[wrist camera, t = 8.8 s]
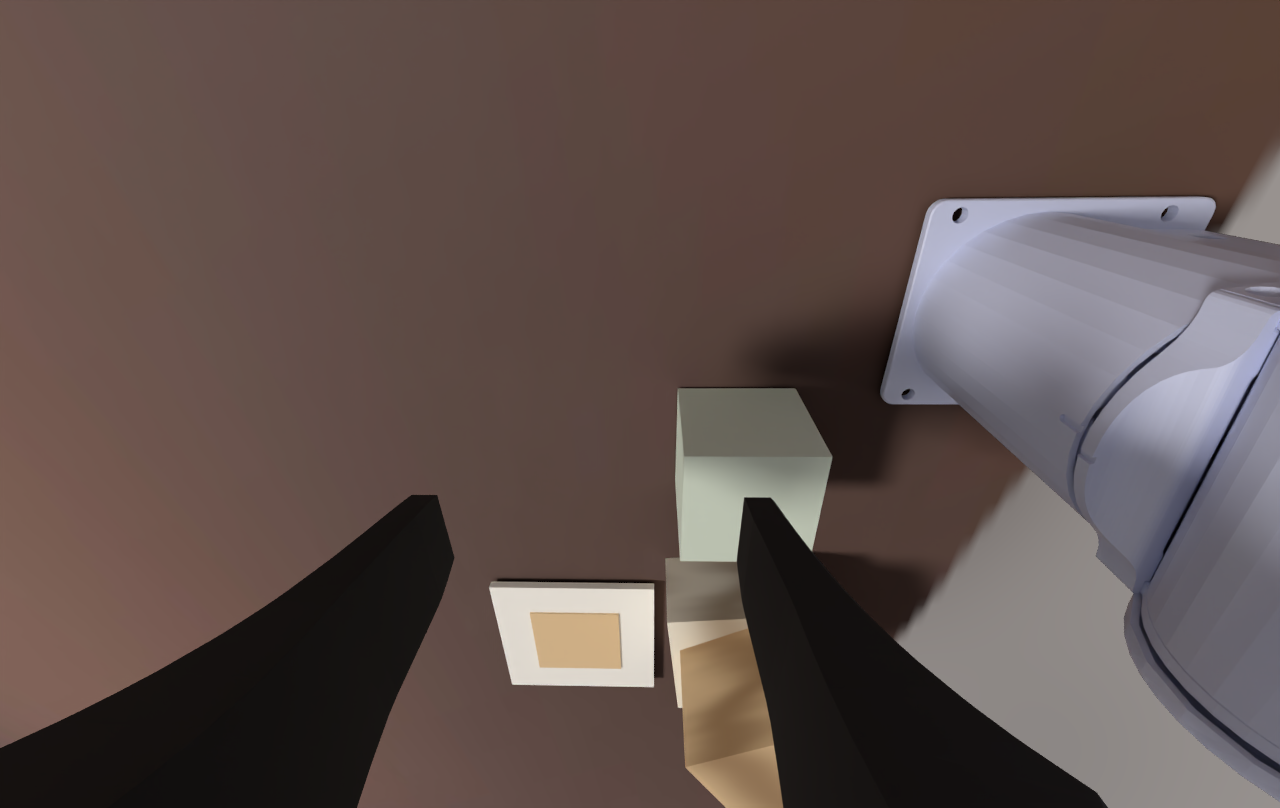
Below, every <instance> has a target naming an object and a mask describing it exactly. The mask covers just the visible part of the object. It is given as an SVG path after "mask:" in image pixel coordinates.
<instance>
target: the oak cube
mask: <svg viewBox="0 0 1280 808" xmlns="http://www.w3.org/2000/svg"><path fill="white" fill-rule="evenodd" d="M680 665H681V686H682V707H683V728H684V749H685V767H686V768H687V769H688V770H689V771H690V772H691V773H692V774H693V775H694V776H695V777H696V778H697V779H698V780H699V781H700V782H701V783H702V784H703V785H704V786H705V787H706V788H707V789H708V790H709V791H710V792H711V793H712V794H713V795H714V796H715V797H716V798H717V799H718V800H719V801H720V802H721V803H722V804H723V805H724V806H725V807H726V808H783V803H782V796H781V789H780V782H779V775H778V768H777V762H776V755H775V749H774V742H773V736H772V729H771V723H770V718H769V713H768V708H767V704H766V699H765V695H764V691H763V687H762V683H761V679H760V675H759V671H758V666H757V662H756V658H755V654H754V650H753V646H752V642H751V638H750V634H749V630H748V628H747V629H744V630H741V631H738V632H735V633H732V634H729V635H726V636H723V637H720V638H717V639H713V640H710V641H707V642H704V643H701V644H698V645H695V646H692V647H689V648H686V649H683V650H680Z"/></svg>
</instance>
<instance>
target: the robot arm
mask: <svg viewBox="0 0 1280 808" xmlns="http://www.w3.org/2000/svg"><path fill="white" fill-rule="evenodd" d="M1167 207H1168V210H1167V213H1166V214H1165V215H1164V216H1163V217H1162V218H1161V214H1162V212H1163V211H1164V210H1165V209H1166V208H1167ZM958 208H961V209H962V214H961V216H960V218H959V219H957V220H956V221H953V220H952V215H953V213H954V211H956V210H957V209H958ZM1215 208H1216V204H1215V201H1214V200H1213V199H1212V198H1208V197H1201V196H1158V197H1057V198H956V199H940V200H938V201H936V202H934V203H933V204H932V205H931V206H930V207H929V208H928V210H927V213H926V216H925V219H924V223H923V227H922V231H921V235H920V239H919V243H918V246H917V250H916V254H915V258H914V262H913V266H912V270H911V274H910V277H909V281H908V285H907V289H906V293H905V297H904V301H903V304H902V308H901V312H900V316H899V320H898V324H897V328H896V331H895V335H894V339H893V343H892V347H891V351H890V355H889V359H888V362H887V366H886V370H885V374H884V378H883V382H882V386H881V389H880V395H881V397H882V399H883V400H884V401H885V402H887V403H888V404H959V405H960V406H961V407H962V408H963V409H964V410H966V411H967V412H968V413H969V414H970V415H971V416H972V417H973V418H974V419H975V420H976V421H978V422H979V423H980V424H981V425H982V426H983V427H984V428H985V429H986V430H987V431H989V432H990V433H991V434H992V435H993V436H994V437H995V438H996V439H997V440H998V441H1000V442H1001V443H1002V444H1003V445H1004V446H1005V447H1006V448H1007V449H1008V450H1009V451H1011V452H1012V453H1013V454H1014V455H1015V456H1016V457H1017V458H1018V459H1019V460H1020V461H1021V462H1023V463H1024V464H1025V465H1026V466H1027V467H1028V468H1029V469H1030V470H1031V471H1032V472H1034V473H1035V474H1036V475H1037V476H1038V477H1039V478H1040V479H1041V480H1043V482H1045V483H1046V484H1047V485H1048V486H1049V487H1050V488H1051V489H1052V490H1053V491H1054V492H1056V493H1057V494H1058V495H1059V496H1060V497H1061V498H1062V499H1063V500H1064V501H1065V502H1066V503H1068V504H1069V505H1070V506H1071V507H1072V508H1073V509H1074V510H1075V511H1076V512H1077V513H1079V514H1080V515H1081V516H1082V517H1083V518H1084V519H1085V520H1086V521H1087V522H1088V523H1090V525H1091V526H1092V527H1093V528H1094V530H1095V531H1096V533H1097V535H1098V539H1099V546H1098V550H1097V553H1096V557H1097V558H1098V559H1099V560H1100V561H1101V562H1102V563H1103V564H1104V565H1105V566H1106V567H1107V568H1108V569H1109V570H1110V571H1112V573H1113V574H1114V575H1116V577H1118V578H1119V579H1120V580H1121V581H1122V582H1123V583H1124V584H1125V585H1126V586H1127V587H1128V588H1129V589H1130V590H1131V591H1132V592H1133V593H1134V594H1133V596H1132V598H1131V600H1130V602H1129V603H1128V606H1127V610H1126V613H1125V616H1124V635H1125V639H1126V643H1127V646H1128V650H1129V653H1130V656H1131V658H1132V659H1133V661H1134V663H1135V665H1136V667H1137V669H1138V671H1139V673H1140V675H1141V676H1142V678H1143V679H1144V681H1145V682H1146V683H1147V685H1148V686H1149V688H1150V689H1151V690H1152V692H1153V693H1154V695H1155V696H1156V697H1157V699H1158V700H1159V701H1160V702H1161V703H1162V704H1163V705H1164V706H1165V708H1166V709H1167V710H1168V711H1169V712H1170V713H1171V714H1172V715H1173V716H1174V717H1175V719H1176V720H1177V721H1178V722H1179V723H1180V724H1181V725H1182V726H1183V727H1184V728H1185V729H1186V730H1188V731H1189V732H1190V733H1191V734H1192V735H1193V736H1194V737H1195V738H1196V739H1197V740H1198V741H1199V742H1200V743H1202V744H1203V745H1204V746H1205V747H1206V748H1207V749H1208V750H1209V751H1211V752H1212V753H1213V754H1215V755H1216V756H1217V757H1219V758H1220V759H1221V760H1222V761H1223V762H1225V763H1226V764H1227V765H1228V766H1230V767H1231V768H1232V769H1234V770H1235V771H1236V772H1238V774H1240V775H1241V776H1242V777H1244V778H1245V779H1247V780H1248V781H1250V782H1251V783H1253V784H1254V785H1256V786H1257V787H1258V788H1260V789H1261V790H1263V791H1264V792H1266V793H1267V794H1269V795H1270V796H1272V797H1273V798H1275V799H1276V800H1278V801H1279V802H1280V245H1278V244H1273V243H1268V242H1262V241H1257V240H1252V239H1247V238H1241V237H1236V236H1231V235H1225V234H1220V233H1215V232H1210V231H1205V229H1206V227H1207V225H1208V223H1209V221H1210V219H1211V217H1212V215H1213V214H1214V211H1215ZM906 389H910V391H909V393H907V394H906V395H901V394H902V393H903V391H905V390H906ZM453 561H454V554H453V551H452V547H451V544H450V540H449V536H448V533H447V529H446V526H445V522H444V518H443V515H442V511H441V508H440V504H439V500H438V497H437V495H411V496H410V497H408V498H407V499H406V500H404V501H403V502H402V503H400V504H399V505H398V506H397V507H395V508H394V509H393V510H392V511H390V512H389V513H388V514H387V515H385V516H384V517H383V518H382V519H380V520H379V521H378V522H377V523H375V524H374V525H373V526H372V527H370V528H369V529H368V530H367V531H366V532H364V533H363V534H362V535H360V536H359V537H358V538H357V539H355V540H354V541H353V542H352V543H350V544H349V545H348V546H347V547H345V548H344V549H343V550H342V551H340V552H339V553H338V554H337V555H335V556H334V557H333V558H331V559H330V560H329V561H327V562H326V563H325V564H323V565H322V566H321V567H319V568H318V569H317V570H315V571H314V572H312V573H311V574H310V575H308V576H307V577H306V578H304V579H303V580H302V581H300V582H299V583H298V584H296V585H295V586H293V587H292V588H291V589H289V590H288V591H287V592H285V593H284V594H282V595H281V596H279V597H278V598H277V599H275V600H274V601H272V602H271V603H269V604H268V605H266V606H265V607H263V608H262V609H260V610H259V611H257V612H256V613H254V614H253V615H251V616H249V617H248V618H246V619H245V620H243V621H242V622H240V623H239V624H237V625H235V626H234V627H232V628H231V629H229V630H227V631H226V632H224V633H223V634H221V635H219V636H218V637H216V638H214V639H212V640H211V641H209V642H207V643H206V644H204V645H202V646H200V647H199V648H197V649H195V650H193V651H192V652H190V653H188V654H186V655H185V656H183V657H181V658H180V659H178V660H176V661H174V662H173V663H171V664H169V665H167V666H166V667H164V668H162V669H160V670H159V671H157V672H155V673H153V674H151V675H149V676H148V677H146V678H144V679H142V680H140V681H138V682H136V683H134V684H132V685H130V686H129V687H127V688H125V689H123V690H121V691H119V692H117V693H115V694H113V695H111V696H109V697H107V698H105V699H103V700H101V701H99V702H97V703H95V704H93V705H91V706H89V707H87V708H85V709H83V710H81V711H79V712H77V713H75V714H73V715H71V716H69V717H67V718H65V719H63V720H61V721H59V722H57V723H54V724H52V725H50V726H48V727H46V728H43V729H41V730H39V731H37V732H35V733H33V734H30V735H28V736H26V737H24V738H22V739H19V740H17V741H15V742H13V743H11V744H9V745H6V746H4V747H2V748H0V808H357V806H358V803H359V800H360V797H361V794H362V790H363V787H364V784H365V781H366V778H367V775H368V772H369V769H370V766H371V763H372V761H373V758H374V755H375V752H376V749H377V747H378V744H379V741H380V738H381V735H382V733H383V730H384V727H385V724H386V721H387V719H388V716H389V713H390V711H391V709H392V706H393V704H394V702H395V699H396V697H397V694H398V692H399V690H400V688H401V686H402V684H403V681H404V679H405V677H406V675H407V673H408V671H409V669H410V666H411V664H412V662H413V660H414V658H415V656H416V653H417V651H418V649H419V647H420V645H421V643H422V641H423V638H424V636H425V634H426V632H427V630H428V628H429V625H430V623H431V621H432V619H433V617H434V614H435V612H436V610H437V608H438V606H439V603H440V601H441V599H442V596H443V593H444V590H445V587H446V584H447V581H448V577H449V574H450V571H451V567H452V564H453ZM737 568H738V576H739V584H740V592H741V599H742V605H743V609H744V613H745V617H746V622H747V626H748V630H749V634H750V638H751V642H752V646H753V650H754V654H755V658H756V662H757V666H758V671H759V675H760V679H761V683H762V687H763V691H764V695H765V699H766V704H767V708H768V713H769V718H770V723H771V729H772V736H773V742H774V749H775V755H776V762H777V768H778V775H779V782H780V789H781V796H782V803H783V808H1108V807H1107V806H1106V804H1105V803H1104V802H1103V801H1102V799H1101V798H1100V796H1099V795H1098V794H1097V793H1096V792H1095V791H1094V790H1092V789H1090V788H1089V787H1088V786H1086V785H1085V784H1083V783H1082V782H1080V781H1079V780H1077V779H1076V778H1074V777H1073V776H1071V775H1069V774H1068V773H1067V772H1065V771H1064V770H1062V769H1061V768H1059V767H1058V766H1056V765H1055V764H1053V763H1052V762H1050V761H1049V760H1047V759H1046V758H1044V757H1043V756H1042V755H1040V754H1039V753H1037V752H1036V751H1034V750H1033V749H1031V748H1030V747H1028V746H1027V745H1025V744H1024V743H1022V742H1021V741H1019V740H1018V739H1017V738H1015V737H1014V736H1012V735H1011V734H1010V733H1008V732H1007V731H1006V730H1004V729H1003V728H1002V727H1000V726H999V725H998V724H996V723H995V722H994V721H992V720H991V719H990V718H988V717H987V716H986V715H984V714H983V713H981V712H980V711H979V710H977V709H976V708H975V707H973V706H972V705H971V704H970V703H968V702H967V701H966V700H965V699H963V698H962V697H961V696H959V695H958V694H957V693H956V692H955V691H953V690H952V689H951V688H950V687H948V686H947V685H946V684H945V683H944V682H942V681H941V680H940V679H939V678H937V677H936V676H935V675H934V674H933V673H931V672H930V671H929V670H928V669H926V668H925V667H924V666H923V665H922V664H921V663H919V662H918V661H917V660H916V659H915V658H913V657H912V656H911V655H910V654H909V653H908V652H907V651H906V650H905V649H904V648H902V647H901V646H900V645H899V644H898V643H897V642H896V641H895V640H894V639H893V638H892V637H891V636H890V635H888V634H887V633H886V632H885V631H884V630H883V629H882V628H881V627H880V626H879V625H878V624H877V623H876V622H875V621H874V620H873V619H872V618H871V617H870V616H869V615H868V614H867V613H866V612H865V611H864V610H863V609H862V608H861V607H860V606H859V605H858V604H857V603H856V601H855V600H854V599H853V598H852V597H851V596H850V595H849V594H848V593H847V592H846V591H845V590H844V588H843V587H842V586H841V585H840V584H839V583H838V582H837V581H836V579H835V578H834V577H833V576H832V575H831V574H830V573H829V571H828V570H827V569H826V568H825V567H824V565H823V564H822V563H821V562H820V561H819V559H818V558H817V557H816V556H815V554H814V553H813V552H812V551H811V550H810V548H809V547H808V546H807V545H806V543H805V542H804V541H803V539H802V538H801V537H800V535H799V534H798V533H797V532H796V530H795V529H794V528H793V526H792V525H791V524H790V522H789V521H788V519H787V518H786V517H785V515H784V514H783V513H782V511H781V510H780V508H779V507H778V505H777V504H776V503H775V501H774V500H773V499H772V498H771V497H744V503H743V511H742V519H741V528H740V536H739V545H738V553H737Z"/></svg>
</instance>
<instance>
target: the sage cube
mask: <svg viewBox="0 0 1280 808" xmlns="http://www.w3.org/2000/svg"><path fill="white" fill-rule="evenodd" d="M831 462H832V455H831V453H830V451H829V449H828V448H827V446H826V444H825V442H824V440H823V438H822V437H821V435H820V433H819V431H818V429H817V427H816V425H815V424H814V422H813V420H812V418H811V416H810V414H809V413H808V411H807V409H806V407H805V405H804V403H803V402H802V400H801V398H800V396H799V394H798V392H797V390H796V389H795V388H678V401H677V437H676V473H675V484H676V501H677V517H678V533H679V549H680V561H716V562H737V553H738V545H739V536H740V528H741V519H742V511H743V503H744V497H771V498H772V499H773V500H774V501H775V503H776V504H777V505H778V507H779V508H780V510H781V511H782V513H783V514H784V515H785V517H786V518H787V519H788V521H789V522H790V524H791V525H792V526H793V528H794V529H795V530H796V532H797V533H798V534H799V535H800V537H801V538H802V539H803V541H804V542H805V543H806V545H807V546H808V547H809V548H810V550H811V551H812V548H813V544H814V539H815V535H816V530H817V525H818V521H819V516H820V512H821V507H822V503H823V498H824V494H825V489H826V485H827V480H828V475H829V471H830V466H831Z"/></svg>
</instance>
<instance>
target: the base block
mask: <svg viewBox="0 0 1280 808" xmlns="http://www.w3.org/2000/svg"><path fill="white" fill-rule="evenodd" d="M666 595H667V625H668V633H669V640H670V648H671V656H672V664H673V672H674V679H675V687H676V695H677V703H678V708H683V707H682V686H681V665H680V650H683V649H686V648H689V647H692V646H695V645H698V644H701V643H704V642H707V641H710V640H713V639H717V638H720V637H723V636H726V635H729V634H732V633H735V632H738V631H741V630H744V629H747V628H748V626H747V622H746V617H745V613H744V609H743V605H742V599H741V592H740V584H739V576H738V568H737V562H716V561H680V558H666Z"/></svg>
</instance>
